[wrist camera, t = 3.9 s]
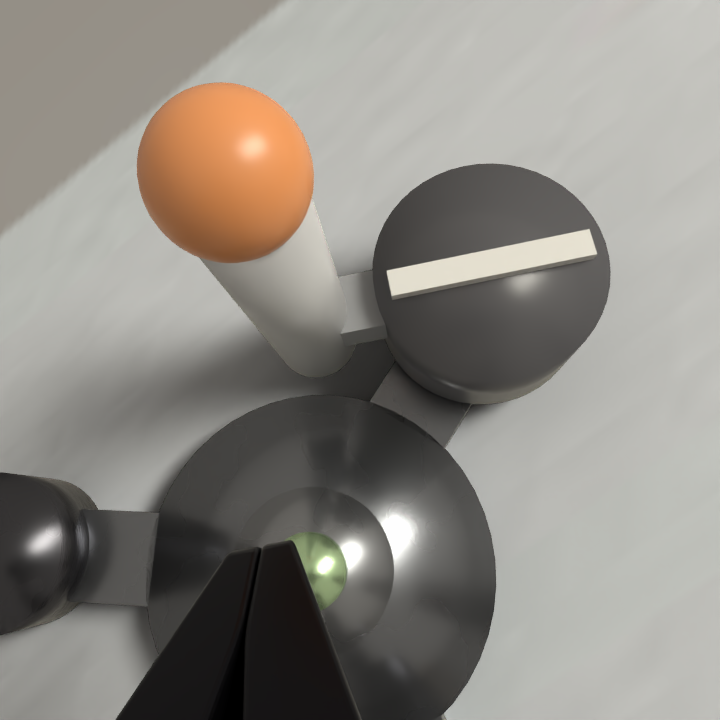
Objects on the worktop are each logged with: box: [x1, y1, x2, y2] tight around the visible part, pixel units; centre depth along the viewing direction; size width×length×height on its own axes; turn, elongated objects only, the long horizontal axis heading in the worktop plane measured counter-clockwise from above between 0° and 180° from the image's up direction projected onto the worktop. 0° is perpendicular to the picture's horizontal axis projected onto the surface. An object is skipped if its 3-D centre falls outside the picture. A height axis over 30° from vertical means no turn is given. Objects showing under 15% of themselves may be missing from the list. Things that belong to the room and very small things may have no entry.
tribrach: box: [0, 361, 496, 720], centre depth 17 cm, size 18×20×3 cm
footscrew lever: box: [137, 82, 610, 404], centre depth 14 cm, size 9×6×11 cm, turn 100°
